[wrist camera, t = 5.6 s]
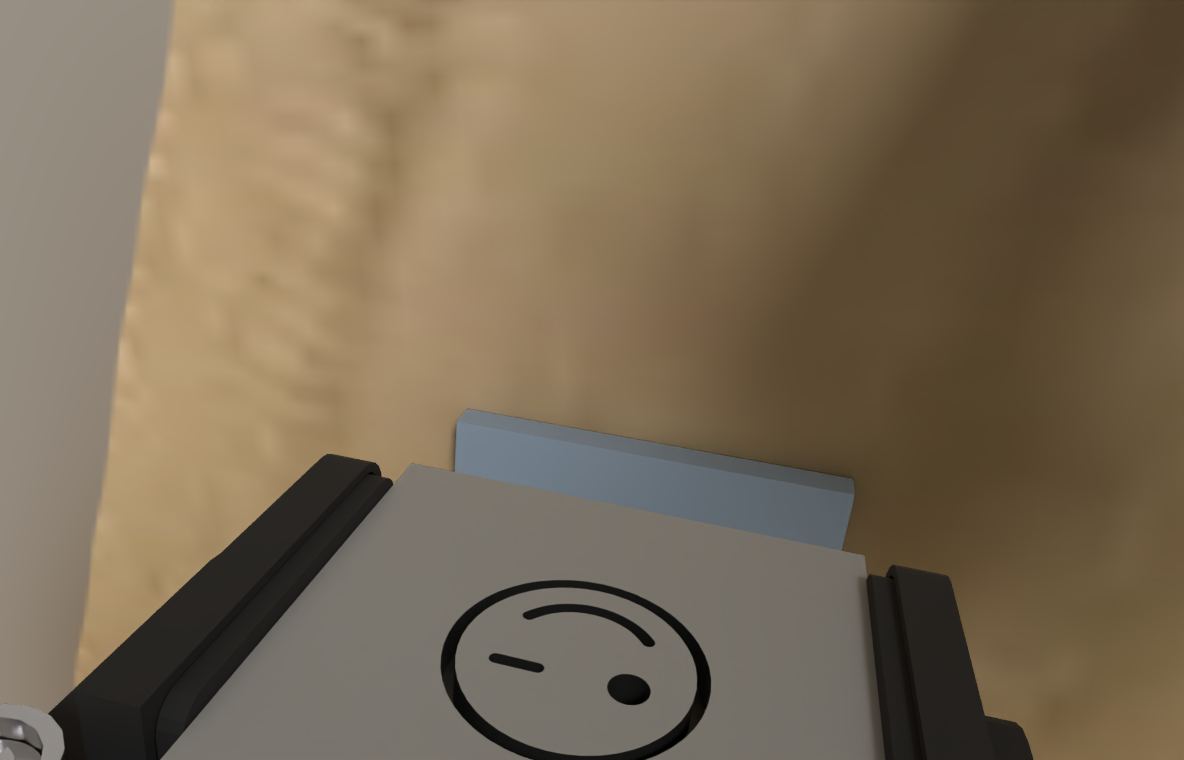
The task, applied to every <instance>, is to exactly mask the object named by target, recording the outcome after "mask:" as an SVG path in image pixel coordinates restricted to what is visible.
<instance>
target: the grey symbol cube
mask: <svg viewBox="0 0 1184 760" xmlns="http://www.w3.org/2000/svg"><path fill="white" fill-rule="evenodd" d="M866 580H867V572H866V563H865V555H860V554H855V553H850V552H845V551H840V550H835V549H830V548H826V547H821V546H816V545H811V544H806V543H801V542H796V541H791V540H786V539H781V538H777V537H772V536H767V535H762V534H757V533H752V532H747V531H742V530H737V529H732V528H728V527H723V526H718V525H713V524H708V523H703V522H698V521H693V520H688V519H683V518H678V517H674V516H669V515H664V514H659V513H654V512H649V511H644V510H639V509H634V508H629V507H625V506H620V505H615V504H610V503H605V502H600V501H595V500H590V499H585V498H580V497H576V496H571V495H566V494H561V493H556V492H551V491H546V490H541V489H536V488H531V487H526V486H522V485H517V484H512V483H507V482H502V481H497V480H492V479H487V478H482V477H477V476H473V475H468V474H463V473H458V472H453V471H448V470H443V469H438V468H433V467H428V466H424V465H419V464H414V463H411V465H410V466H409V467H408V468H407V469H406V471H405V472H404V473H403V474H402V475H401V476H400V478H399V479H398V480H397V481H396V482H395V483H394V485H393V486H392V487H391V488H390V489H389V491H388V492H387V493H386V494H385V495H384V496H383V498H382V499H381V500H380V501H379V502H378V504H377V505H376V506H375V507H374V508H373V509H372V511H371V512H370V513H369V514H368V515H367V517H366V518H365V519H364V520H363V521H362V522H361V524H360V525H359V526H358V527H357V528H356V530H355V531H354V532H353V533H352V534H351V535H350V537H349V538H348V539H347V540H346V541H345V542H344V544H343V545H342V546H341V547H340V548H339V550H338V551H337V552H336V553H335V554H334V555H333V557H332V558H331V559H330V560H329V561H328V563H327V564H326V565H325V566H324V567H323V568H322V570H321V571H320V572H319V573H318V574H317V576H316V577H315V578H314V579H313V580H312V581H311V583H310V584H309V585H308V586H307V587H306V589H305V590H304V591H303V592H302V593H301V594H300V596H299V597H298V598H297V599H296V600H295V601H294V603H293V604H292V605H291V606H290V607H289V609H288V610H287V611H286V612H285V613H284V614H283V616H282V617H281V618H280V619H279V620H278V622H277V623H276V624H275V625H274V626H273V627H272V629H271V630H270V631H269V632H268V633H267V635H266V636H265V637H264V638H263V639H262V640H261V642H260V643H259V644H258V645H257V646H256V647H255V649H254V650H253V651H252V652H251V653H250V655H249V656H248V657H247V658H246V659H245V660H244V662H243V663H242V664H241V665H240V666H239V668H238V669H237V670H236V671H235V672H234V673H233V675H232V676H231V677H230V678H229V679H228V681H227V682H226V683H225V684H224V685H223V686H222V688H221V689H220V690H219V691H218V692H217V694H216V695H215V696H214V697H213V698H212V699H211V701H210V702H209V703H208V704H207V705H206V706H205V708H204V709H203V710H202V711H201V712H200V714H199V715H198V716H197V717H196V718H195V719H194V721H193V722H192V723H191V724H190V725H189V727H188V728H187V729H186V730H185V731H184V732H183V734H182V735H181V736H180V737H179V738H178V740H177V741H176V742H175V743H174V744H173V745H172V747H171V748H170V749H169V750H168V751H167V752H166V754H165V755H164V756H163V757H162V758H161V760H885V752H884V743H883V734H882V724H881V715H880V706H879V696H878V687H877V678H876V668H875V659H874V650H873V640H872V631H871V621H870V612H869V603H868V593H867V584H866Z"/></svg>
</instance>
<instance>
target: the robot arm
mask: <svg viewBox="0 0 1184 760" xmlns="http://www.w3.org/2000/svg"><path fill="white" fill-rule="evenodd" d="M392 486H393V482H392V480H391V479H389V478H384V477H381V471H380V468H379V466H378V465H377V464H376V463H374V462H369V461H364V460H359V459H354V458H349V457H344V456H339V455H334V454H327V455H325V456H323V457H322V458H321V459H320V460H319V461H318V462H317V463H315V464H314V465H313V466H312V467H311V468H310V469H309V470H308V471H307V472H306V473H305V474H304V475H303V476H302V477H301V478H300V479H299V480H298V481H296V482H295V483H294V484H293V485H292V486H291V487H290V488H289V489H288V490H287V491H286V492H285V493H284V494H283V495H282V496H281V497H280V498H279V499H277V500H276V501H275V502H274V503H273V504H272V505H271V506H270V507H269V508H268V509H267V510H266V511H265V512H264V513H263V514H262V515H261V516H260V517H258V518H257V519H256V520H255V521H254V522H253V523H252V524H251V525H250V526H249V527H248V528H247V529H246V530H245V531H244V532H243V533H242V534H241V535H239V536H238V537H237V538H236V539H235V540H234V541H233V542H232V543H231V544H230V545H229V546H228V547H227V548H226V549H225V550H224V551H223V552H222V553H220V554H219V555H217V556H216V557H215V558H213V559H212V560H210V561H209V562H208V563H207V564H206V565H205V566H204V567H203V568H202V569H201V570H200V571H199V572H198V573H197V574H196V575H194V576H193V577H192V578H191V579H190V580H189V581H188V582H187V583H186V584H185V585H184V586H183V587H182V588H181V589H180V590H179V591H178V592H176V593H175V594H174V595H173V596H172V597H171V598H170V599H169V600H168V601H167V602H166V603H165V604H164V605H163V606H162V607H161V608H160V609H158V610H157V611H156V612H155V613H154V614H153V615H152V616H151V617H150V618H149V619H148V620H147V621H146V622H145V623H144V624H143V625H141V626H140V627H139V628H138V629H137V630H136V631H135V632H134V633H133V634H132V635H131V636H130V637H129V638H128V639H127V640H126V641H125V642H123V643H122V644H121V645H120V646H119V647H118V648H117V649H116V650H115V651H114V652H113V653H112V654H111V655H110V656H109V657H108V658H107V659H105V660H104V661H103V662H102V663H101V664H100V665H99V666H98V667H97V668H96V669H95V670H94V671H93V672H92V673H91V674H90V675H89V676H87V677H86V678H85V679H84V680H83V681H82V682H81V683H80V684H79V685H78V686H77V687H76V688H75V689H74V690H73V691H72V692H70V694H68V695H67V696H66V697H65V698H64V699H63V700H62V701H61V702H60V703H59V704H58V705H57V706H56V707H55V708H54V709H53V710H52V711H50V712H49V714H46V713H44V712H42V711H40V710H38V709H35V708H33V707H30V706H23V705H15V704H8V703H3V704H0V760H161V758H162V757H163V756H164V755H165V754H166V752H167V751H168V750H169V749H170V748H171V747H172V745H173V744H174V743H175V742H176V741H177V740H178V738H179V737H180V736H181V735H182V734H183V732H184V731H185V730H186V729H187V728H188V727H189V725H190V724H191V723H192V722H193V721H194V719H195V718H196V717H197V716H198V715H199V714H200V712H201V711H202V710H203V709H204V708H205V706H206V705H207V704H208V703H209V702H210V701H211V699H212V698H213V697H214V696H215V695H216V694H217V692H218V691H219V690H220V689H221V688H222V686H223V685H224V684H225V683H226V682H227V681H228V679H229V678H230V677H231V676H232V675H233V673H234V672H235V671H236V670H237V669H238V668H239V666H240V665H241V664H242V663H243V662H244V660H245V659H246V658H247V657H248V656H249V655H250V653H251V652H252V651H253V650H254V649H255V647H256V646H257V645H258V644H259V643H260V642H261V640H262V639H263V638H264V637H265V636H266V635H267V633H268V632H269V631H270V630H271V629H272V627H273V626H274V625H275V624H276V623H277V622H278V620H279V619H280V618H281V617H282V616H283V614H284V613H285V612H286V611H287V610H288V609H289V607H290V606H291V605H292V604H293V603H294V601H295V600H296V599H297V598H298V597H299V596H300V594H301V593H302V592H303V591H304V590H305V589H306V587H307V586H308V585H309V584H310V583H311V581H312V580H313V579H314V578H315V577H316V576H317V574H318V573H319V572H320V571H321V570H322V568H323V567H324V566H325V565H326V564H327V563H328V561H329V560H330V559H331V558H332V557H333V555H334V554H335V553H336V552H337V551H338V550H339V548H340V547H341V546H342V545H343V544H344V542H345V541H346V540H347V539H348V538H349V537H350V535H351V534H352V533H353V532H354V531H355V530H356V528H357V527H358V526H359V525H360V524H361V522H362V521H363V520H364V519H365V518H366V517H367V515H368V514H369V513H370V512H371V511H372V509H373V508H374V507H375V506H376V505H377V504H378V502H379V501H380V500H381V499H382V498H383V496H384V495H385V494H386V493H387V492H388V491H389V489H390V488H391V487H392ZM866 584H867V593H868V603H869V612H870V621H871V631H872V640H873V650H874V659H875V668H876V678H877V687H878V696H879V706H880V715H881V724H882V734H883V743H884V752H885V760H1033V756H1032V753H1031V750H1030V747H1029V743H1028V740H1027V738H1026V736H1025V734H1024V731H1023V729H1022V728H1021V727H1020V726H1019V725H1018V724H1017V723H1016V722H1011V721H1007V720H1002V719H998V718H993V717H989V716H985V715H984V711H983V707H982V703H981V699H980V695H979V691H978V687H977V683H976V679H975V675H974V671H973V667H972V663H971V659H970V655H969V651H968V647H967V643H966V639H965V635H964V632H963V628H962V624H961V620H960V616H959V612H958V608H957V604H956V600H955V596H954V592H953V588H952V584H951V581H950V579H949V577H948V576H946V575H942V574H937V573H932V572H927V571H922V570H917V569H912V568H907V567H902V566H897V565H892V566H891V567H890V568H889V570H888V572H887V575H886V577H881V576H876V575H871V574H870V575H869V576H868V578H867V580H866Z"/></svg>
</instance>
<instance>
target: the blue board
mask: <svg viewBox="0 0 1184 760" xmlns="http://www.w3.org/2000/svg"><path fill="white" fill-rule="evenodd" d="M455 472H458V473H463V474H468V475H473V476H477V477H482V478H487V479H492V480H497V481H502V482H507V483H512V484H517V485H522V486H526V487H531V488H536V489H541V490H546V491H551V492H556V493H561V494H566V495H571V496H576V497H580V498H585V499H590V500H595V501H600V502H605V503H610V504H615V505H620V506H625V507H629V508H634V509H639V510H644V511H649V512H654V513H659V514H664V515H669V516H674V517H678V518H683V519H688V520H693V521H698V522H703V523H708V524H713V525H718V526H723V527H728V528H732V529H737V530H742V531H747V532H752V533H757V534H762V535H767V536H772V537H777V538H781V539H786V540H791V541H796V542H801V543H806V544H811V545H816V546H821V547H826V548H830V549H835V550H840V551H842V547H843V543H844V538H845V534H846V530H847V526H848V522H849V518H850V514H851V510H852V506H853V501H854V497H855V490H854V482H853V479H852V478H847V477H841V476H836V475H830V474H824V473H819V472H813V471H808V470H802V469H797V468H791V467H786V466H780V465H775V464H769V463H764V462H758V461H753V460H747V459H742V458H736V457H731V456H725V455H720V454H714V453H709V452H703V451H698V450H692V449H687V448H681V447H676V446H670V445H665V444H659V443H654V442H648V441H642V440H637V439H631V438H626V437H620V436H615V435H609V434H604V433H598V432H593V431H587V430H582V429H576V428H571V427H565V426H560V425H554V424H549V423H543V422H538V421H532V420H527V419H521V418H516V417H510V416H505V415H499V414H494V413H488V412H483V411H477V410H472V409H467V410H466V411H465V412H464V414H463V415H462V416H461V417H460V418H459V420H458V421H457V429H456V451H455Z"/></svg>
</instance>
